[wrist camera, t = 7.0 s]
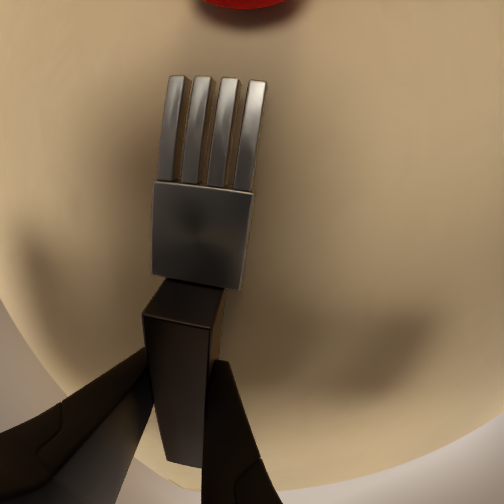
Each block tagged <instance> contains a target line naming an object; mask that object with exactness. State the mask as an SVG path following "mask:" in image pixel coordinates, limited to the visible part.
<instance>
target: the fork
mask: <svg viewBox="0 0 504 504" xmlns="http://www.w3.org/2000/svg"><path fill="white" fill-rule="evenodd" d="M191 83H192V81H191V80H190V79H189V78H188V77H186V76H184V75H171V76H170V77H169V81H168V87H167V93H166V100H165V106H164V114H163V121H162V129H161V138H160V147H159V157H158V169H157V180H154V182H153V191H152V213H151V274H152V275H154V276H159V277H165V278H166V279H165V280H164V282H163V283H162V284H161V286H160V287H159V289H158V290H157V292H156V293H155V294H154V296H153V297H152V299H151V300H150V302H149V303H148V305H147V306H146V308H145V309H144V310H143V312H142V325H143V334H144V343H145V351H146V359H147V366H148V372H149V378H150V384H151V390H152V396H153V401H154V407H155V412H156V417H157V422H158V426H159V431H160V435H161V439H162V443H163V447H164V451H165V455H166V459H167V461H170V462H174V463H178V464H182V465H187V466H191V467H196V468H201V469H202V449H203V425H204V406H205V393H206V388H207V384H208V381H209V380H210V376H211V373H212V369H213V365H214V362H215V360H216V359H218V360H219V351H220V341H221V332H222V323H223V314H224V305H225V296H226V289H232V290H240V289H241V285H242V281H243V274H244V267H245V261H246V254H247V247H248V241H249V234H250V227H251V221H252V214H253V207H254V201H255V194H256V191H255V189H253V188H252V186H253V179H254V173H255V166H256V159H257V153H258V146H259V140H260V133H261V127H262V120H263V114H264V107H265V101H266V95H267V88H268V87H267V82H266V81H260V80H249V82H248V88H247V94H246V101H245V107H244V113H243V120H242V127H241V133H240V140H239V147H238V154H237V161H236V168H235V176H234V183H233V185H226V184H227V182H228V174H229V167H230V159H231V152H232V145H233V138H234V131H235V124H236V118H237V111H238V105H239V98H240V92H241V86H242V84H241V82H240V80H239V79H238V78H231V77H222V78H221V82H220V88H219V94H218V100H217V107H216V113H215V120H214V127H213V134H212V142H211V149H210V157H209V165H208V174H207V182H203V181H202V180H203V174H204V166H205V157H206V149H207V142H208V134H209V127H210V120H211V113H212V106H213V100H214V93H215V87H216V81H215V80H214V79H213V78H212V77H211V76H195V77H194V83H193V89H192V95H191V101H190V108H189V115H188V122H187V129H186V137H185V146H184V154H183V164H182V174H181V179H178V178H179V176H180V166H181V156H182V147H183V139H184V131H185V123H186V116H187V109H188V102H189V96H190V89H191Z"/></svg>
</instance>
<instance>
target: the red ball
mask: <svg viewBox="0 0 504 504" xmlns="http://www.w3.org/2000/svg"><path fill="white" fill-rule="evenodd" d="M204 1H206V2H208V3H211V4H213V5H217V6H221V7H226V8H233V9H256V8H263V7H267V6H271V5H274V4H278V3H280V2H283V1H285V0H204Z"/></svg>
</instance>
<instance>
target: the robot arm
mask: <svg viewBox="0 0 504 504" xmlns="http://www.w3.org/2000/svg"><path fill="white" fill-rule="evenodd" d="M153 404H154V401H153V396H152V390H151V384H150V378H149V372H148V366H147V359H146V351H145V347H143V348H142V349H140V350H139V351H137V352H136V353H134V354H133V355H131V356H130V357H128V358H127V359H125V360H124V361H122V362H121V363H119V364H118V365H116V366H115V367H113V368H112V369H110V370H109V371H107V372H106V373H104V374H103V375H101V376H99V377H98V378H96V379H95V380H93V381H92V382H90V383H89V384H87V385H86V386H84V387H83V388H81V389H80V390H78V391H77V392H75V393H73V394H72V395H70V396H69V397H67V398H66V399H64V400H63V401H62V402H60V403H58V404H56V405H55V406H53V407H51V408H50V409H48V410H46V411H45V412H43V413H41V414H40V415H38V416H36V417H34V418H32V419H30V420H28V421H26V422H24V423H22V424H20V425H18V426H15V427H13V428H11V429H9V430H6V431H4V432H2V433H0V504H115V502H116V499H117V497H118V494H119V492H120V489H121V486H122V484H123V481H124V479H125V476H126V474H127V471H128V469H129V466H130V463H131V461H132V458H133V456H134V454H135V451H136V449H137V446H138V444H139V441H140V439H141V436H142V434H143V431H144V429H145V427H146V424H147V422H148V419H149V417H150V414H151V411H152V407H153ZM260 457H261V456H260V453H259V450H258V447H257V445H256V442H255V439H254V436H253V433H252V431H251V428H250V425H249V422H248V419H247V416H246V413H245V410H244V407H243V404H242V401H241V398H240V395H239V392H238V389H237V386H236V383H235V380H234V376H233V373H232V370H231V367H230V364H229V362H228V361H224V360H218V359H216V360H215V362H214V365H213V369H212V373H211V376H210V380H209V381H208V384H207V388H206V393H205V406H204V425H203V449H202V485H201V504H283V503H282V502H281V500H280V498H279V496H278V494H277V492H276V491H275V489H274V487H273V485H272V482H271V480H270V478H269V476H268V473H267V471H266V468H265V466H264V463H263V461H262V459H261V458H260Z"/></svg>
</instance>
